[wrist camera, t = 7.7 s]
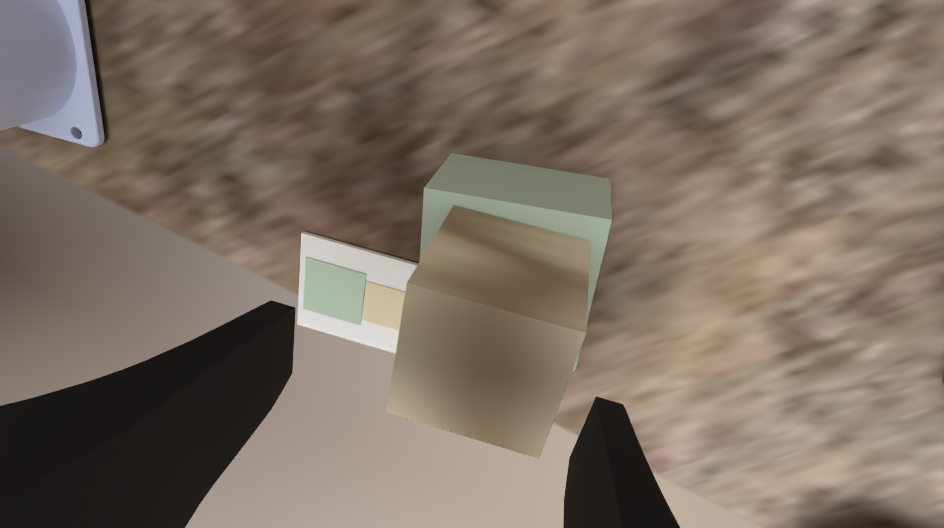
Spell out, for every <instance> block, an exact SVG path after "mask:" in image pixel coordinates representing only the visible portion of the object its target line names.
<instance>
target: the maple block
mask: <svg viewBox="0 0 944 528" xmlns="http://www.w3.org/2000/svg"><path fill="white" fill-rule="evenodd" d="M589 263H590V241H587V240H583V239H579V238H576V237H572V236H568V235H564V234H561V233H557V232H553V231H549V230H546V229H542V228H538V227H534V226H531V225H527V224H523V223H519V222H516V221H512V220H508V219H504V218H501V217H497V216H493V215H489V214H486V213H482V212H478V211H474V210H471V209H467V208H463V207H459V206H456V205H453V207H452V209H451V210H450V212H449V214H448V215H447V217H446V219H445V220H444V222H443V224H442V225H441V227H440V229H439V230H438V232H437V234H436V235H435V237H434V238H433V240H432V242H431V243H430V245H429V247H428V248H427V250H426V252H425V253H424V255H423V257H422V258H421V260H420V262H419V263H418V265H417V267H416V268H415V270H414V272H413V273H412V275H411V277H410V278H409V280H408V282H407V285H406V291H405V297H404V304H403V310H402V316H401V323H400V329H399V335H398V342H397V348H396V355H395V361H394V367H393V374H392V381H391V386H390V393H389V399H388V405H387V413H390V414H393V415H396V416H400V417H403V418H406V419H410V420H413V421H416V422H419V423H423V424H426V425H430V426H433V427H436V428H440V429H443V430H446V431H449V432H453V433H456V434H460V435H463V436H466V437H469V438H473V439H476V440H479V441H483V442H486V443H489V444H493V445H496V446H499V447H502V448H506V449H509V450H513V451H516V452H519V453H522V454H526V455H529V456H533V457H536V458H540V455H541V453H542V450H543V447H544V444H545V442H546V439H547V436H548V434H549V431H550V428H551V426H552V423H553V421H554V418H555V415H556V413H557V410H558V407H559V405H560V402H561V399H562V397H563V394H564V392H565V389H566V386H567V384H568V381H569V378H570V376H571V373H572V370H573V368H574V365H575V362H576V360H577V357H578V354H579V352H580V349H581V346H582V344H583V341H584V339H585V336H586V333H587V310H588V286H589Z"/></svg>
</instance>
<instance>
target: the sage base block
mask: <svg viewBox="0 0 944 528" xmlns="http://www.w3.org/2000/svg"><path fill="white" fill-rule="evenodd" d="M453 205H456V206H459V207H463V208H467V209H471V210H474V211H478V212H482V213H486V214H489V215H493V216H497V217H501V218H504V219H508V220H512V221H516V222H519V223H523V224H527V225H531V226H534V227H538V228H542V229H546V230H549V231H553V232H557V233H561V234H564V235H568V236H572V237H576V238H579V239H583V240H587V241H590V263H589V286H588V310H587V320H588V316H589V312H590V308H591V304H592V300H593V296H594V292H595V288H596V284H597V280H598V276H599V272H600V267H601V263H602V259H603V255H604V251H605V247H606V243H607V239H608V235H609V231H610V227H611V223H612V205H611V182H610V179H609V178H602V177H596V176H590V175H584V174H578V173H572V172H566V171H559V170H553V169H547V168H541V167H535V166H529V165H523V164H516V163H510V162H504V161H498V160H492V159H486V158H479V157H473V156H467V155H461V154H455V153H451V154H450V155H449V157H448V158H447V159H446V161H445V162H444V163H443V164H442V166H441V167H440V168H439V169H438V171H437V172H436V173H435V174H434V176H433V177H432V178H431V180H430V181H429V182H428V183H427V185H426V186H425V187H424V197H423V214H422V231H421V247H420V260H421V258H422V257H423V255H424V253H425V252H426V250H427V248H428V247H429V245H430V243H431V242H432V240H433V238H434V237H435V235H436V234H437V232H438V230H439V229H440V227H441V225H442V224H443V222H444V220H445V219H446V217H447V215H448V214H449V212H450V210H451V209H452V207H453ZM579 353H580V352H579ZM578 357H579V354H578ZM578 357H577V360H576V362H575V365H574V368H573V370H575V369H576V365H577V361H578Z"/></svg>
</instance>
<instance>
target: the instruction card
mask: <svg viewBox="0 0 944 528" xmlns="http://www.w3.org/2000/svg"><path fill="white" fill-rule="evenodd" d="M417 265H418V263H415V262H412V261H408V260H404V259H401V258H397V257H394V256H390V255H387V254H383V253H380V252H376V251H372V250H369V249H365V248H362V247H358V246H355V245H351V244H348V243H344V242H340V241H337V240H333V239H330V238H326V237H323V236H319V235H316V234H312V233H308V232H305V231H303V232H302V233H301V254H300V276H299V298H298V321H297V324H298V325H301V326H304V327H308V328H311V329H314V330H318V331H321V332H324V333H328V334H331V335H335V336H338V337H342V338H345V339H348V340H352V341H355V342H359V343H362V344H365V345H369V346H372V347H375V348H378V349H382V350H386V351H389V352H392V353H395V354H396V348H397V342H398V335H399V329H400V323H401V316H402V310H403V304H404V297H405V291H406V285H407V282H408V280H409V278H410V277H411V275H412V273H413V272H414V270H415V268H416V267H417Z"/></svg>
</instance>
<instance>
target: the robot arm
mask: <svg viewBox="0 0 944 528" xmlns="http://www.w3.org/2000/svg"><path fill="white" fill-rule="evenodd" d="M13 127H20V128H23V129H27V130H30V131H34V132H38V133H41V134H45V135H48V136H52V137H56V138H59V139H63V140H67V141H70V142H74V143H77V144H81V145H85V146H88V147H96V146H99V145H101V144H103V142H104V131H103V124H102V117H101V110H100V103H99V96H98V89H97V83H96V76H95V69H94V62H93V55H92V48H91V41H90V34H89V27H88V21H87V14H86V7H85V0H0V131H2V130H6V129H9V128H13ZM78 129H79V130H80V131H81V133H82V134H81V133H80V132H79V130H78ZM294 325H295V307H291V306H288V305H285V304H281V303H278V302H274V301H269V302H267V303H265V304H263V305H261V306H259V307H257V308H255V309H253V310H251V311H249V312H247V313H245V314H243V315H241V316H239V317H237V318H235V319H234V320H232V321H230V322H228V323H226V324H224V325H222V326H220V327H218V328H216V329H214V330H212V331H210V332H207V333H205V334H203V335H202V336H199V337H197V338H195V339H193V340H191V341H189V342H187V343H184V344H183V345H180V346H178V347H175V348H173V349H171V350H169V351H166V352H164V353H162V354H160V355H157V356H155V357H153V358H150V359H148V360H146V361H143V362H141V363H138V364H136V365H133V366H131V367H128V368H126V369H123V370H120V371H117V372H114V373H112V374H109V375H106V376H103V377H100V378H97V379H95V380H92V381H89V382H85V383H82V384H79V385H75V386H72V387H68V388H65V389H62V390H58V391H55V392H52V393H48V394H45V395H41V396H38V397H34V398H31V399H27V400H23V401H19V402H15V403H10V404H6V405H2V406H0V528H185V527H186V525H187V523H188V522H189V520H190V519H191V517H192V515H193V514H194V512H195V511H196V509H197V507H198V506H199V504H200V503H201V501H202V500H203V499H204V497H205V496H206V494H207V493H208V492H209V490H210V489H211V487H212V486H213V485H214V483H215V482H216V481H217V479H218V478H219V477H220V475H221V474H222V473H223V472H224V470H225V469H226V468H227V466H228V465H229V464H230V463H231V461H232V460H233V459H234V457H235V456H236V455H237V454H238V452H239V451H240V450H241V448H242V447H243V446H244V444H245V443H246V442H247V441H248V439H249V438H250V437H251V435H252V434H253V433H254V431H255V430H256V429H257V427H258V426H259V425H260V424H261V422H262V421H263V419H264V418H265V417H266V416H267V414H268V413H269V411H270V410H271V409H272V407H273V405H274V404H275V402H276V400H277V399H278V397H279V395H280V394H281V392H282V390H283V388H284V387H285V385H286V383H287V381H288V380H289V378H290V376H291V374H292V367H293V366H292V365H293V347H294V346H293V345H294ZM564 528H680V527H679V525H678V523H677V521H676V519H675V517H674V516H673V514H672V512H671V510H670V508H669V506H668V504H667V502H666V500H665V498H664V496H663V494H662V492H661V490H660V488H659V486H658V484H657V482H656V480H655V477H654V475H653V473H652V471H651V469H650V467H649V465H648V462H647V460H646V458H645V456H644V453H643V451H642V448H641V446H640V444H639V441H638V439H637V437H636V434H635V432H634V429H633V427H632V424H631V422H630V419H629V417H628V414H627V412H626V409H625V407H624V406H623V404H620V403H616V402H613V401H609V400H606V399H603V398H599V397H596V398H595V400H594V403H593V405H592V407H591V410H590V412H589V414H588V417H587V419H586V421H585V424H584V426H583V428H582V430H581V433H580V435H579V437H578V440H577V442H576V444H575V447H574V449H573V451H572V454H571V456H570V459H569V467H568V474H567V482H566V489H565V498H564Z"/></svg>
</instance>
